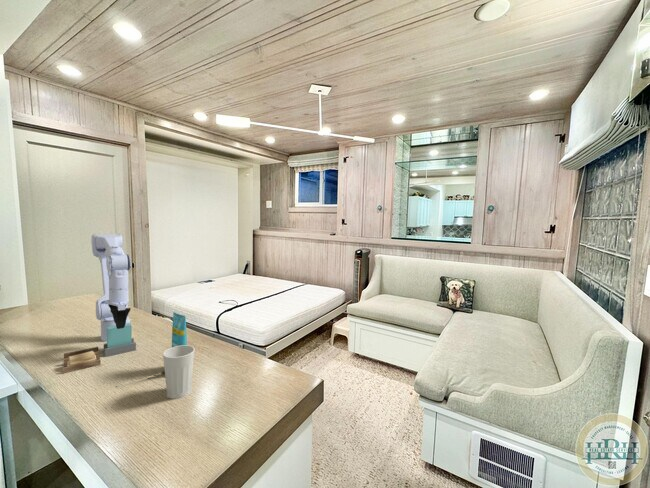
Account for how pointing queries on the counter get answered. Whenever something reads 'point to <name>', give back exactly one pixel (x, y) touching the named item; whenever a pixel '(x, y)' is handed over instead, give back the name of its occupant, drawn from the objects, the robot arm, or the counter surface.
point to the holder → (119, 349)
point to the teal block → (119, 336)
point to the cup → (178, 370)
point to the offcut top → (81, 357)
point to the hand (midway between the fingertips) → (119, 325)
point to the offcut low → (81, 362)
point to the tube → (179, 330)
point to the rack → (83, 365)
